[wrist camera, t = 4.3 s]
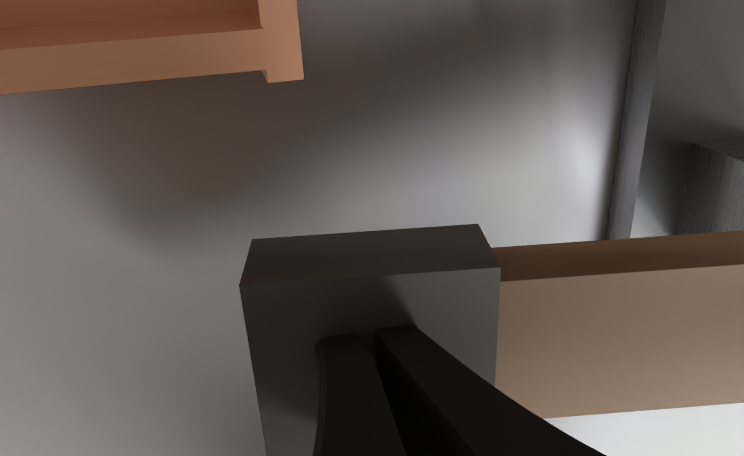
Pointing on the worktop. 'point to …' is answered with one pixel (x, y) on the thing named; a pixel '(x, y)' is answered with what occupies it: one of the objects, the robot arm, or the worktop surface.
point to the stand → (682, 122)
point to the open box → (144, 41)
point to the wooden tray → (503, 317)
